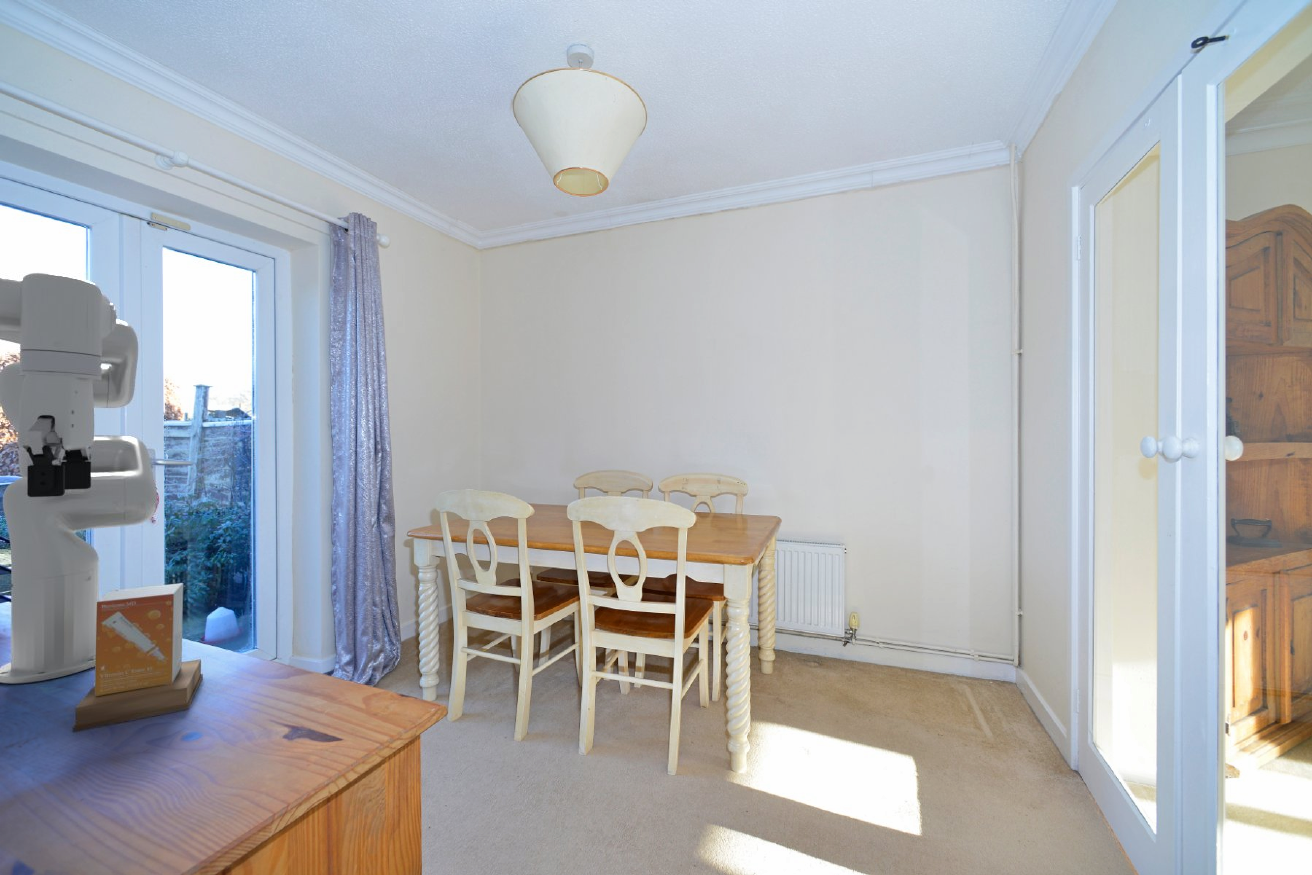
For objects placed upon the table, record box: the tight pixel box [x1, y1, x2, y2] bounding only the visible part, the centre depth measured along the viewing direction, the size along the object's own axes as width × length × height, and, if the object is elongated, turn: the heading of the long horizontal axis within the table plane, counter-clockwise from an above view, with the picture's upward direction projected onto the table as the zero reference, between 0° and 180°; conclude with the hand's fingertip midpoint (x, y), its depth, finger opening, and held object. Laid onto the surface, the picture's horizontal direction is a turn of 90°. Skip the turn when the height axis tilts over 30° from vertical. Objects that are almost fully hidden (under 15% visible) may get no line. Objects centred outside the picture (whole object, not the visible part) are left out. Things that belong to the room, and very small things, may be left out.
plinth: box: [72, 659, 204, 733], centre depth 77 cm, size 11×11×3 cm
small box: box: [94, 582, 184, 696], centre depth 77 cm, size 8×6×13 cm
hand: (61, 492), depth 74 cm, fingers open, 9 cm apart
